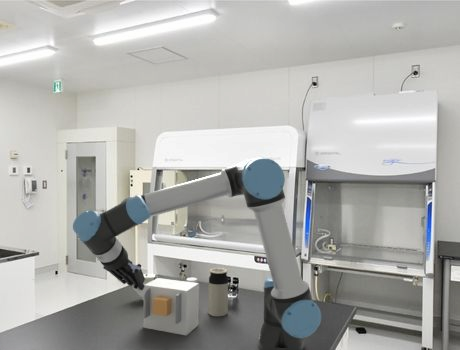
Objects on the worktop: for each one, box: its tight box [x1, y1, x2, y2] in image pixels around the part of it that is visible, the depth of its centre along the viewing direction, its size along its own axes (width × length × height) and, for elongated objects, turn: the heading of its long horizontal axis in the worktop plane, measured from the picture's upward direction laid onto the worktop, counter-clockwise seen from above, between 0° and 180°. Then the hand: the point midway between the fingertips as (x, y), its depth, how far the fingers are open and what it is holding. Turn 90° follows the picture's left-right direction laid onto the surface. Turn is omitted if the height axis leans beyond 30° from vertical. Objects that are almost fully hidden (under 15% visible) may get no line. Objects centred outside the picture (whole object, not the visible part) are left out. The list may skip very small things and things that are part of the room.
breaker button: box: [153, 296, 171, 316], centre depth 137 cm, size 7×6×6 cm
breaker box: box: [142, 277, 200, 336], centre depth 140 cm, size 13×18×16 cm
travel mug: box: [208, 267, 229, 318], centre depth 155 cm, size 8×8×18 cm
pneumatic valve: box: [139, 272, 159, 301], centre depth 170 cm, size 6×12×12 cm, turn 93°
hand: (143, 292), depth 124 cm, fingers closed
